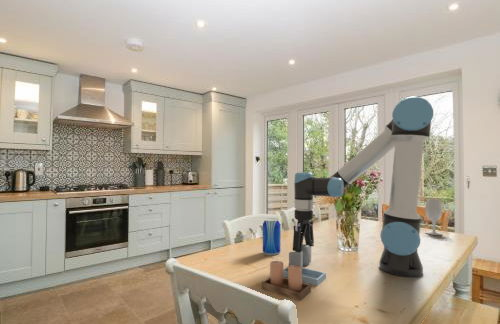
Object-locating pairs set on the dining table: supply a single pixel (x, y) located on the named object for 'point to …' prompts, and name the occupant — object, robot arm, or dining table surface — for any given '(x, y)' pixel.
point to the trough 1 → (284, 291)
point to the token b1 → (294, 258)
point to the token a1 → (276, 273)
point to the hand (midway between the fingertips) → (303, 264)
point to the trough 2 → (309, 276)
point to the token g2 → (305, 254)
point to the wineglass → (433, 213)
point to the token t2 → (295, 278)
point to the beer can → (271, 236)
